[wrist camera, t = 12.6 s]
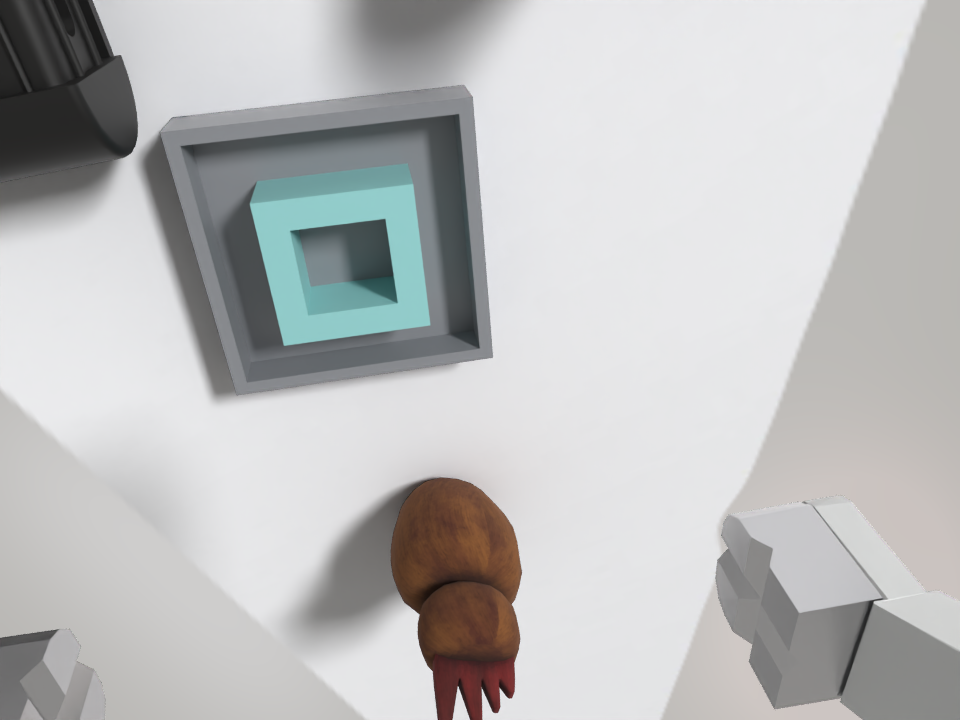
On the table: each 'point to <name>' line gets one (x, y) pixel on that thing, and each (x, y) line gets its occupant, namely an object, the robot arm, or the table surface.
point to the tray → (336, 228)
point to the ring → (334, 203)
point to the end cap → (60, 90)
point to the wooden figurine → (460, 590)
